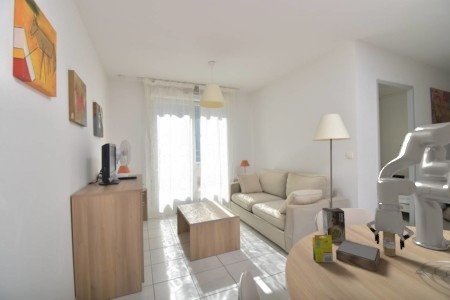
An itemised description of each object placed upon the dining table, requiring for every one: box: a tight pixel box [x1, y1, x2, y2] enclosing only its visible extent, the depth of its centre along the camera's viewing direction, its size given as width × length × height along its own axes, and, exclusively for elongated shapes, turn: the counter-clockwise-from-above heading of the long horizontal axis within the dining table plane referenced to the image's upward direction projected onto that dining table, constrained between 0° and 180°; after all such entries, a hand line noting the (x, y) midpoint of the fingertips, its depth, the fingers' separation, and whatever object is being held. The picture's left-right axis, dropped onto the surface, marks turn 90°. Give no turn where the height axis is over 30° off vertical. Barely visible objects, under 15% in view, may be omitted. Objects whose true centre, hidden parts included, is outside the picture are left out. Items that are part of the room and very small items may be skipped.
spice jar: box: [382, 229, 397, 257], centre depth 89 cm, size 5×5×13 cm
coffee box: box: [321, 207, 347, 243], centre depth 106 cm, size 9×6×16 cm
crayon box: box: [312, 234, 334, 264], centre depth 85 cm, size 7×3×12 cm, turn 86°
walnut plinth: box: [335, 239, 381, 272], centre depth 86 cm, size 14×14×4 cm
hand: (389, 245), depth 89 cm, fingers open, 7 cm apart
